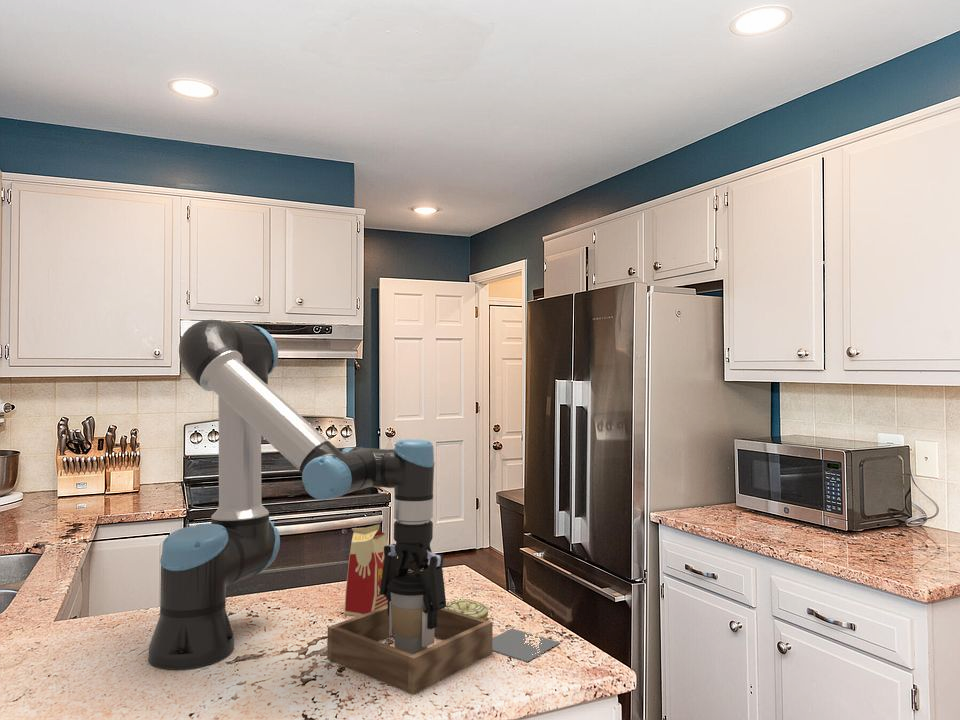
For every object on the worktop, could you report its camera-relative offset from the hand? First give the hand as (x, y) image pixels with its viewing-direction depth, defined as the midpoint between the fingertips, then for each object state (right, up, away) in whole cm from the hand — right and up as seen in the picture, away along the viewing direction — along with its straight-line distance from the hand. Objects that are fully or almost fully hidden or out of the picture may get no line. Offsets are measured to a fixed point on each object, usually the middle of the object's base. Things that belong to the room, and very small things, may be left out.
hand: (411, 638), depth 129 cm
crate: (0, -3, 0) cm, 3 cm away
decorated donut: (+10, -4, +19) cm, 22 cm away
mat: (+21, -4, +6) cm, 22 cm away
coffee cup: (0, -3, 0) cm, 3 cm away
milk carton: (-13, -4, +25) cm, 28 cm away
